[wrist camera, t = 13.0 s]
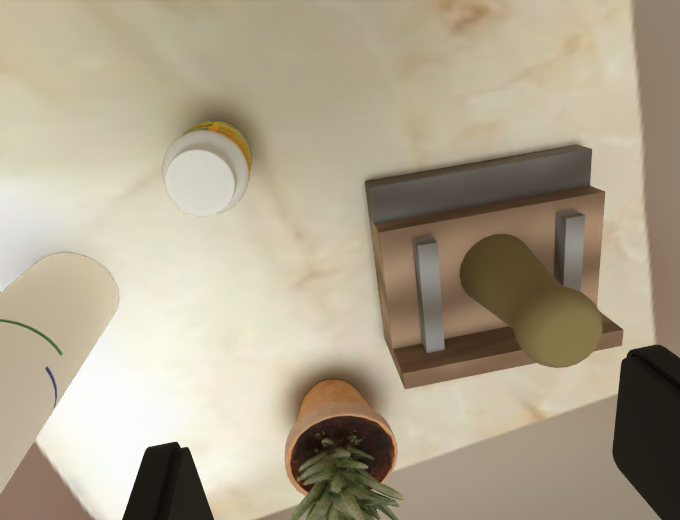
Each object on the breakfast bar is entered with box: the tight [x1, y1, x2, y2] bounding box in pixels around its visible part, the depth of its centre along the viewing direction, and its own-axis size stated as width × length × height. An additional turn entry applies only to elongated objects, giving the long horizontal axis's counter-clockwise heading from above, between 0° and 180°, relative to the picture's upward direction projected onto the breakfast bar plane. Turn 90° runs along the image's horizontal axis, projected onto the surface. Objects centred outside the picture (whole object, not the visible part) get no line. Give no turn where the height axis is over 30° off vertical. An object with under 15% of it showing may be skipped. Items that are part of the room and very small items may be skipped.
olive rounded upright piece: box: [459, 234, 603, 368], centre depth 34 cm, size 6×6×11 cm
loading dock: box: [365, 145, 623, 389], centre depth 39 cm, size 15×18×8 cm
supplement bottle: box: [162, 120, 252, 216], centre depth 33 cm, size 5×5×10 cm
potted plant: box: [285, 379, 403, 520], centre depth 36 cm, size 10×10×25 cm
